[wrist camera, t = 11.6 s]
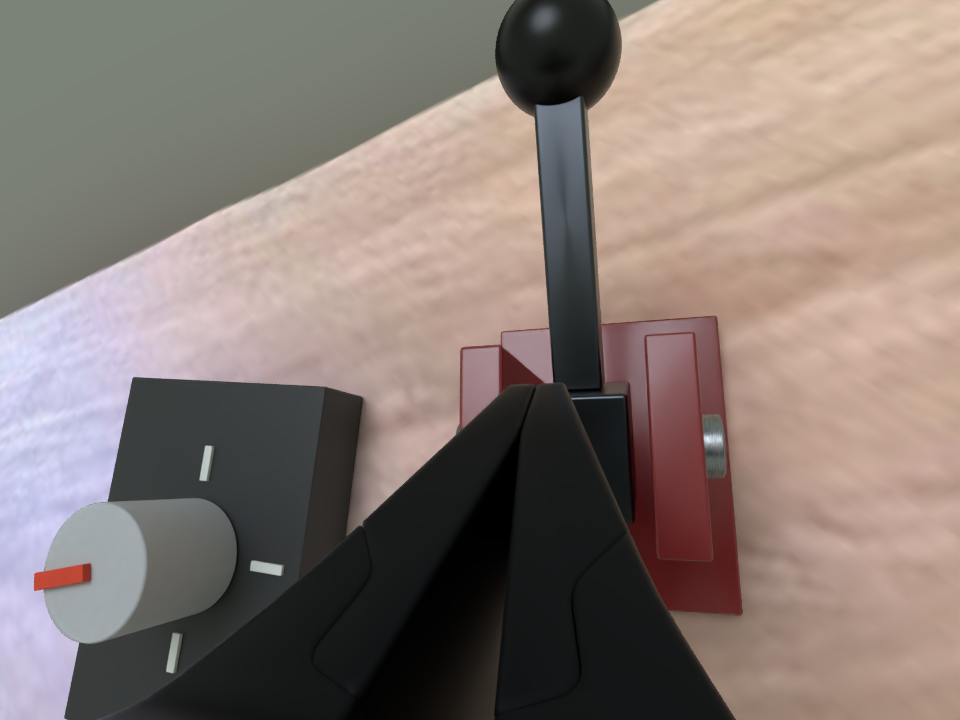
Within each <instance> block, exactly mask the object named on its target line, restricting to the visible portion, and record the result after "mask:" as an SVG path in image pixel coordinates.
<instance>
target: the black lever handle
mask: <svg viewBox="0 0 960 720" xmlns="http://www.w3.org/2000/svg"><path fill="white" fill-rule="evenodd" d="M621 49H622V39H621V31H620V27H619V23H618V19H617V17H616V14H615V12H614V10H613V8H612V7H611V5H610V4H609V2H608V1H607V0H515V1H514V3H513V4H512V5H511V7H510V8H509V10H508V11H507V13H506V15H505V17H504V19H503V21H502V23H501V26H500V28H499V32H498V36H497V41H496V49H495V59H496V67H497V72H498V76H499V79H500V82H501V84H502V86H503V89H504V90H505V92H506V94H507V95H508V97H509V98H510V99H511V100H512V102H513V103H514V104H515V105H516V106H517V107H518V108H520V109H521V110H522V111H524V112H525V113H527V114H529V115H531V116H533V117H535V130H536V144H537V159H538V173H539V187H540V201H541V216H542V230H543V244H544V259H545V273H546V287H547V302H548V316H549V330H550V344H551V359H552V373H553V383H564V384H565V386H566V388H567V390H568V392H569V395H570V397H571V399H572V401H573V404H574V406H575V408H576V410H577V413H578V415H579V417H580V420H581V422H582V424H583V426H584V429H585V431H586V433H587V436H588V438H589V440H590V442H591V445H592V447H593V449H594V452H595V454H596V456H597V458H598V461H599V463H600V465H601V468H602V470H603V472H604V474H605V477H606V479H607V481H608V484H609V486H610V488H611V490H612V493H613V495H614V497H615V499H616V502H617V504H618V506H619V509H620V511H621V513H622V515H623V518H624V520H625V522H626V524H633V523H634V521H635V512H636V491H637V486H636V470H635V454H634V437H633V421H632V405H631V389H630V383H629V382H627V381H615V382H605V373H604V357H603V342H602V326H601V311H600V295H599V280H598V264H597V248H596V233H595V217H594V202H593V186H592V171H591V155H590V140H589V124H588V110H589V109H590V108H592V107H593V106H594V105H595V104H596V103H597V102H598V101H599V100H600V99H601V98H602V97H603V96H604V95H605V93H606V92H607V91H608V89H609V88H610V86H611V84H612V82H613V80H614V78H615V75H616V73H617V70H618V67H619V63H620V58H621Z"/></svg>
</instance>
